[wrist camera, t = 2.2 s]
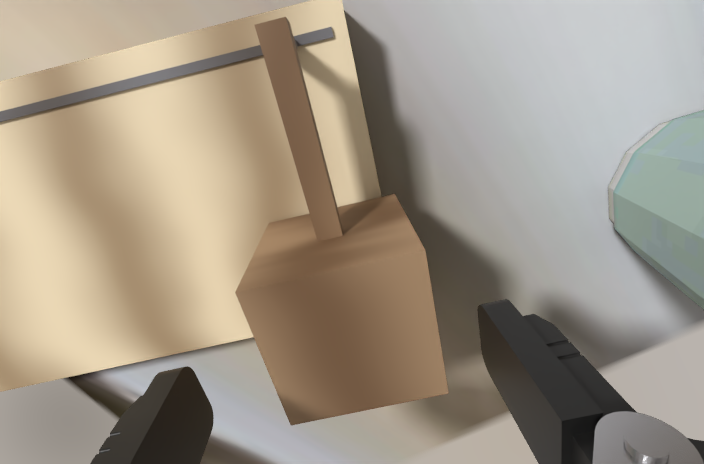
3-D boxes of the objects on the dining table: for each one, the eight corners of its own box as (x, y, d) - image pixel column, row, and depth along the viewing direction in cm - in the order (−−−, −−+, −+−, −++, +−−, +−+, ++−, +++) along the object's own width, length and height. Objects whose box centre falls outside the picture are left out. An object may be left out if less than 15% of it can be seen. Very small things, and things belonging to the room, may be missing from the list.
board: (339, 6, 13) (340, -8, 11) (396, 281, 18) (404, 306, 16) (-155, 133, 14) (-234, 141, 12) (22, 363, 18) (-15, 396, 17)
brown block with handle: (358, 24, 13) (379, -32, 7) (412, 308, 18) (454, 429, 11) (226, 58, 13) (127, 34, 7) (315, 329, 18) (304, 458, 12)
